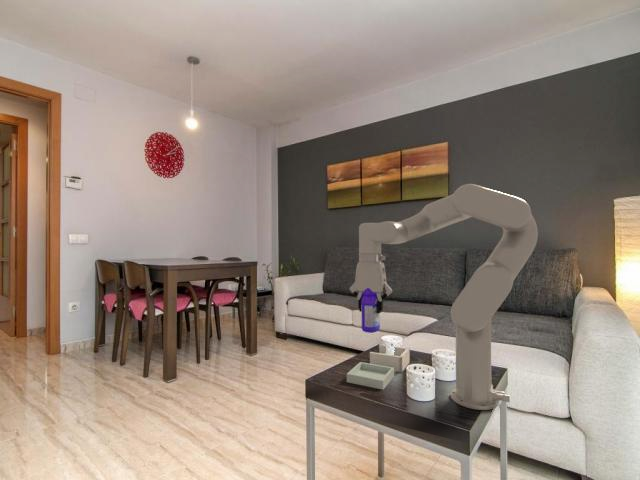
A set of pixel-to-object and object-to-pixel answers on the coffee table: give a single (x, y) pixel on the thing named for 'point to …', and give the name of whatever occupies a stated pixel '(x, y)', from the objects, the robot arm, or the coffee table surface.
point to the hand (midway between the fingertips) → (370, 311)
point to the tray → (370, 375)
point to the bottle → (369, 312)
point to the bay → (391, 358)
